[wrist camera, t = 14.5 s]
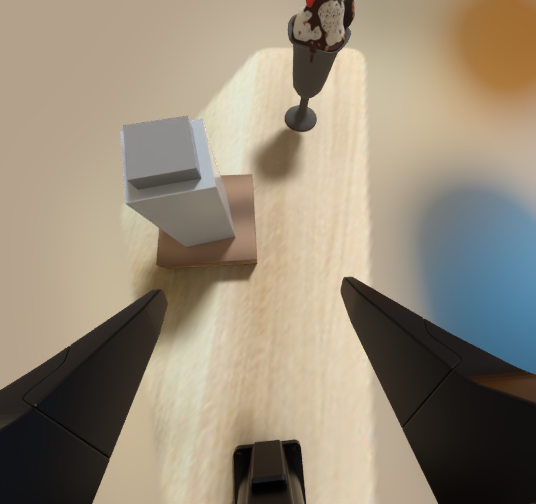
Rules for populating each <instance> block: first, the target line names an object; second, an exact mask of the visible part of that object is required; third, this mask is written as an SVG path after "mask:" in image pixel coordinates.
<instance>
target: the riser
mask: <svg viewBox="0 0 536 504" xmlns="http://www.w3.org/2000/svg"><path fill="white" fill-rule="evenodd" d="M221 178H222V181H223V185H224V188H225V191H226V194H227V198H228V203H229V208H230V213H231V217H232V222H233V227H234V232H235V236H236V237H233V238H228V239H223V240H219V241H214V242H209V243H205V244H200V245H195V246H191V247H185V246H184V245H182V244H181V243H180V242H178V241H177V240H175V239H174V238H173V237H171V236H170V235H168V234H167V233H166V232H164V231H163V230H162V229H160V228H159V239H158V252H157V264H156V265H158V266H161V267H164V268H167V269H170V268H187V267H204V266H221V265H238V264H255V263H257V250H256V231H255V212H254V193H253V178H252V174H250V175H225V176H221Z"/></svg>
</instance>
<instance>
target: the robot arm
mask: <svg viewBox="0 0 536 504" xmlns="http://www.w3.org/2000/svg"><path fill="white" fill-rule="evenodd" d="M341 295H342V298H343V301H344V304H345V307H346V310H347V313H348V315H349V318H350V321H351V323H352V325H353V327H354V329H355V331H356V333H357V336H358V338H359V340H360V342H361V344H362V346H363V348H364V350H365V352H366V354H367V356H368V358H369V361H370V363H371V365H372V367H373V369H374V371H375V373H376V375H377V377H378V379H379V381H380V383H381V385H382V388H383V390H384V392H385V393H386V396H387V398H388V400H389V402H390V404H391V406H392V408H393V410H394V412H395V414H396V417H397V419H398V421H399V423H400V425H401V427H402V428H403V432H404V433H405V435H406V438H407V440H408V442H409V444H410V446H411V448H412V450H413V452H414V454H415V456H416V459H417V461H418V463H419V465H420V467H421V469H422V471H423V473H424V475H425V477H426V479H427V481H428V483H429V486H430V488H431V490H432V492H433V494H434V496H435V498H436V500H437V502H438V504H536V374H533V373H530V372H527V371H525V370H522V369H520V368H517V367H515V366H513V365H511V364H509V363H507V362H505V361H503V360H501V359H499V358H497V357H495V356H493V355H491V354H489V353H488V352H486V351H484V350H482V349H480V348H478V347H476V346H474V345H472V344H470V343H468V342H466V341H464V340H462V339H460V338H459V337H457V336H455V335H452V334H451V333H449V332H447V331H445V330H444V329H442V328H440V327H438V326H437V325H435V324H433V323H431V322H430V321H428V320H426V319H423V317H421V316H419V315H417V314H416V313H414V312H412V311H410V310H409V309H407V308H405V307H404V306H402V305H400V304H398V303H397V302H395V301H393V300H391V299H390V298H388V297H386V296H384V295H382V294H381V293H379V292H378V291H376V290H374V289H373V288H371V287H369V286H367V285H366V284H364V283H362V282H360V281H359V280H357V279H355V278H353V277H344V278H343V281H342V285H341ZM166 309H167V300H166V297H165V295H164V292H163V290H161V289H156V290H151V291H150V292H148V293H147V294H145V295H144V296H142V297H141V298H140V299H138V300H137V301H135V302H134V303H132V304H131V305H129V306H128V307H126V308H125V309H123V310H122V311H120V312H119V313H117V314H116V315H114V316H113V317H111V318H110V319H108V320H107V321H106V322H104V323H103V324H101V325H100V326H98V327H97V328H95V329H94V330H92V331H91V332H89V333H88V334H86V335H85V336H83V337H82V338H80V339H79V340H77V341H76V342H74V343H73V344H71V346H68V347H67V348H65V349H64V350H62V351H61V352H60V353H58V354H57V355H55V356H53V357H52V358H51V359H49V360H47V361H46V362H45V363H43V364H41V365H40V366H38V367H37V368H35V369H33V370H32V371H30V372H29V373H27V374H25V375H24V376H22V377H21V378H19V379H17V380H16V381H14V382H13V383H11V384H9V385H8V386H6V387H5V388H3V389H1V390H0V504H92V503H93V500H94V498H95V495H96V493H97V490H98V488H99V485H100V483H101V480H102V478H103V475H104V473H105V470H106V468H107V465H108V463H109V458H110V457H111V455H112V452H113V450H114V447H115V445H116V442H117V440H118V437H119V435H120V432H121V430H122V427H123V425H124V422H125V420H126V417H127V415H128V412H129V410H130V407H131V405H132V402H133V400H134V397H135V395H136V392H137V390H138V387H139V385H140V382H141V380H142V377H143V375H144V372H145V370H146V367H147V365H148V362H149V360H150V357H151V355H152V352H153V350H154V347H155V345H156V342H157V340H158V337H159V334H160V331H161V327H162V324H163V320H164V316H165V313H166ZM294 446H298V447H297V449H294V448H293V447H294ZM238 452H241V453H242V454H241V455H238V454H237V453H238ZM234 480H235V504H306V497H305V487H304V476H303V465H302V454H301V446H300V443H299V441H297V440H288V441H280V440H274V441H264V442H255V443H254V444H250V445H241V446H237V447H236V449H235V452H234Z"/></svg>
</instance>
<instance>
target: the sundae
mask: <svg viewBox="0 0 536 504" xmlns="http://www.w3.org/2000/svg"><path fill="white" fill-rule="evenodd" d="M353 19H354V0H344V1H343V0H306V4H305V5H304V6H303V7H302V8H301V10H300V11H299V13H298V14H297V15H294V16H293V17H292V18H291V19H290V21H289V23H288V36H289V40H290V41H291V43H292V44H293V86H294V89H295V90H296V92H297V93H298V95H300V96H301V101H300V105H298V106H294V107H291V108H290V109H289V110H288V111H287V112H286V115H285V121H286V123H287V124H288V125H289V126H290V127H291V128H292V129H295V130H298V131H306V130H309V129H311V128H312V127H313V126H314V125H315V124H316V121H317V118H316V114H315V113H314V111H313V110H312V109H310V108H308V107H307V105H308V101H309V98H312V97H314V96H315V95H317V94H318V93H319V92H320V91H321V89H322V87H323V85H324V83H325V82H326V80H327V77H328V75H329V72H330V70H331V67H332V65H333V62H334V60H335V58H336V55H337V53H338V52H339V51H340V50H341V49H342V48H343V47H344V46H345V44H346V43H347V42H348V40H349V38H350V36H351V31H350V29H349V28H348V27H349V26H350V24H351V22H352V20H353Z"/></svg>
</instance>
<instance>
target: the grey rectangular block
mask: <svg viewBox="0 0 536 504" xmlns="http://www.w3.org/2000/svg"><path fill="white" fill-rule="evenodd" d="M120 134H121V147H122V163H123V175H124V176H123V177H124V191H125V204H127V205H128V206H130V207H131V208H132V209H134V210H135V211H136V212H138V213H139V214H141V215H142V216H143V217H145V218H146V219H148V220H149V221H150V222H152V223H153V224H155V225H156V226H157V227H159V228H160V229H162V230H163V231H164V232H166V233H167V234H168V235H170V236H171V237H173V238H174V239H175V240H177V241H178V242H180V243H181V244H182V245H184V246H185V247H191V246H195V245H200V244H205V243H209V242H214V241H219V240H223V239H228V238H233V237H236V236H235V232H234V227H233V222H232V217H231V213H230V208H229V203H228V198H227V194H226V191H225V188H224V185H223V181H222V178H221V175H220V172H219V169H218V166H217V163H216V159H215V156H214V153H213V150H212V147H211V144H210V140H209V137H208V134H207V131H206V128H205V125H204V122H203V119H196V120H190V121H189V118H188V116H183V117H176V118H169V119H163V120H156V121H149V122H143V123H136V124H129V125H123V131H120Z"/></svg>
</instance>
